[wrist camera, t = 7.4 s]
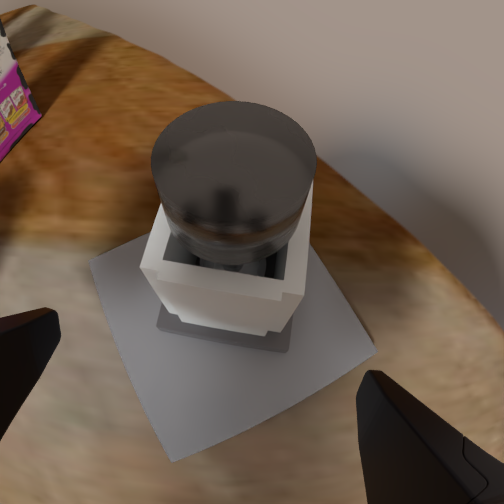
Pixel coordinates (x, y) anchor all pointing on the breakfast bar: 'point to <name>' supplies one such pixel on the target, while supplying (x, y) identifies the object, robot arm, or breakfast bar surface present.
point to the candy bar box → (13, 99)
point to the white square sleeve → (227, 291)
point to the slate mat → (222, 356)
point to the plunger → (233, 182)
